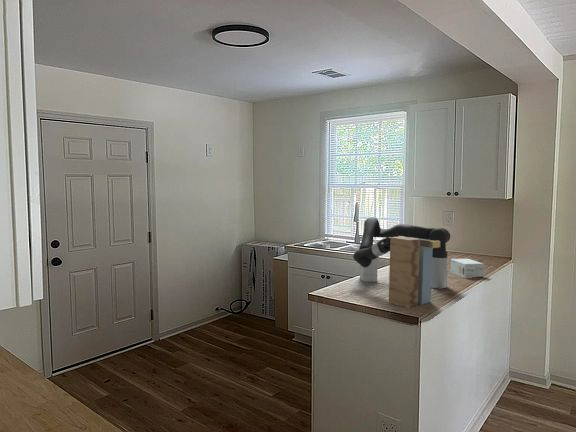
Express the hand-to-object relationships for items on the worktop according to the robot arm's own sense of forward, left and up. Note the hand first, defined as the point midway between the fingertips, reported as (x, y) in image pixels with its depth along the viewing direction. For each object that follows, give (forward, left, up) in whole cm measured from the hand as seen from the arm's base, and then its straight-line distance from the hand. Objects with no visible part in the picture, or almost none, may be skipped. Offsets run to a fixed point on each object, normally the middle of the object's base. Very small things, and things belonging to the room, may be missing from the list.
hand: (403, 235), depth 220 cm
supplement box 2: (-77, -11, -32) cm, 84 cm away
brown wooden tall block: (+10, +9, -32) cm, 35 cm away
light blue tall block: (0, +9, -32) cm, 33 cm away
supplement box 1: (-14, -36, -32) cm, 50 cm away
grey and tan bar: (0, +7, -4) cm, 8 cm away
